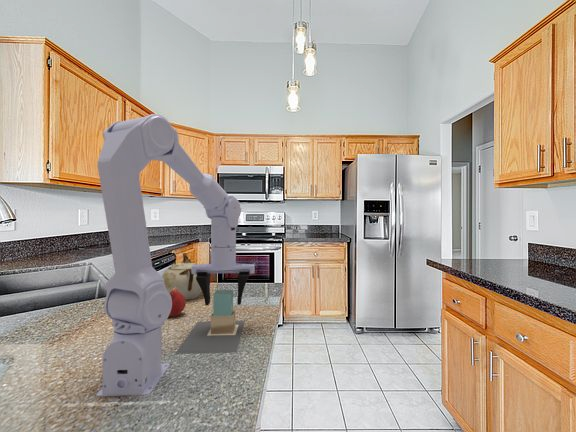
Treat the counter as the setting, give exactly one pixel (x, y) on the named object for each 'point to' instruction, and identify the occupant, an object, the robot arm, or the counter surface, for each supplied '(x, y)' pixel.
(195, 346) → the mat
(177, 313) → the onion
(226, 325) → the maple block
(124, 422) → the counter surface
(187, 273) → the cream rounded vessel
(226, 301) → the teal block
